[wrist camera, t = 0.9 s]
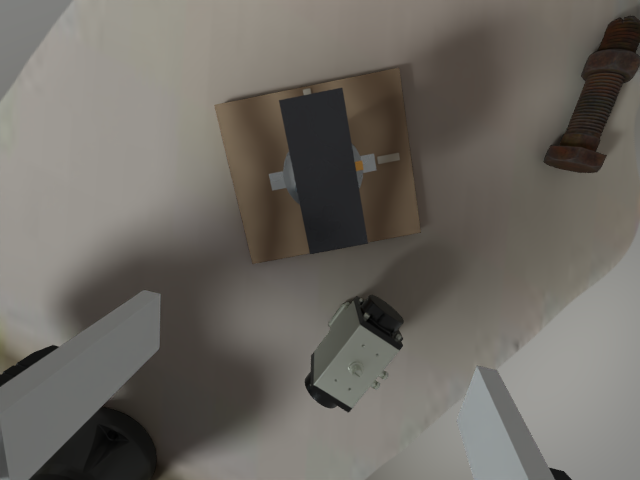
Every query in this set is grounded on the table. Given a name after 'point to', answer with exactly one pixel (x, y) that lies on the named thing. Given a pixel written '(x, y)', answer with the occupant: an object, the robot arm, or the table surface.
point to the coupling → (323, 170)
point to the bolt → (598, 97)
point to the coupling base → (271, 149)
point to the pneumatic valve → (354, 352)
